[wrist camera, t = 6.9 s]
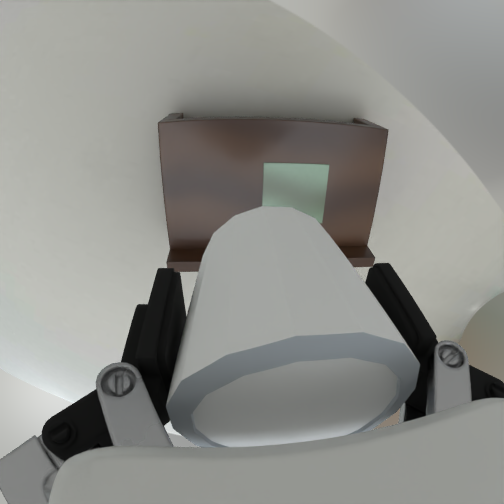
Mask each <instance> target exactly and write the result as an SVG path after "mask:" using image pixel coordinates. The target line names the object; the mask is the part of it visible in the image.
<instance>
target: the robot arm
mask: <svg viewBox="0 0 504 504" xmlns="http://www.w3.org/2000/svg"><path fill="white" fill-rule="evenodd" d="M365 284H366V285H367V286H368V288H369V289H370V291H371V292H372V293H373V295H374V296H375V298H376V299H377V300H378V302H379V303H380V305H381V306H382V308H383V309H384V311H385V312H386V313H387V315H388V316H389V318H390V319H391V321H392V322H393V324H394V325H395V327H396V328H397V330H398V331H399V333H400V334H401V336H402V337H403V339H404V340H405V342H406V343H407V345H408V346H409V348H410V349H411V351H412V352H413V354H414V355H415V357H416V359H417V360H418V362H419V363H420V368H419V373H418V378H417V383H416V388H415V390H414V391H413V392H412V393H411V395H410V396H409V397H408V398H407V400H406V401H405V402H404V403H403V405H402V406H401V407H400V415H399V422H398V424H396V425H392V426H387V427H383V428H379V429H374V430H370V431H365V432H360V433H355V434H350V435H345V436H339V437H333V438H327V439H320V440H313V441H306V442H297V443H288V444H278V445H265V446H249V447H201V448H199V447H197V448H194V447H173V444H172V442H171V440H170V438H169V436H168V434H167V432H166V430H165V428H164V425H165V424H167V423H168V422H169V421H170V418H169V415H168V412H167V409H166V404H167V399H168V394H169V390H170V385H171V381H172V377H173V372H174V368H175V363H176V359H177V355H178V351H179V347H180V342H181V338H182V334H183V330H184V326H185V322H186V318H187V317H186V311H185V304H184V297H183V290H182V283H181V276H180V272H175V270H174V268H159V269H158V270H157V274H156V277H155V281H154V284H153V288H152V291H151V295H150V299H149V302H148V304H138V305H137V307H136V309H135V313H134V316H133V320H132V323H131V327H130V330H129V334H128V337H127V341H126V345H125V348H124V352H123V356H122V360H121V362H118V363H113V364H110V365H108V366H106V367H105V368H104V369H103V370H101V372H100V373H99V375H98V376H97V380H96V390H94V391H92V392H91V393H89V394H88V395H86V396H85V397H83V398H81V399H80V400H78V401H77V402H75V403H73V404H72V405H70V406H69V407H67V408H66V409H64V410H62V411H61V412H59V413H57V414H56V415H54V416H53V417H51V418H50V419H49V420H48V421H47V422H46V423H45V425H44V426H43V430H42V435H40V436H39V437H36V436H33V437H32V438H30V439H29V440H27V441H26V442H25V443H23V444H22V445H20V446H19V447H17V448H16V449H14V450H13V451H12V452H10V453H9V454H7V455H6V456H4V457H3V458H1V459H0V490H1V491H2V494H3V495H4V497H5V499H6V501H7V502H8V504H504V383H503V382H502V381H501V380H499V379H497V378H495V377H493V376H491V375H489V374H487V373H485V372H483V371H481V370H479V369H477V368H475V367H472V366H471V365H469V364H468V357H467V354H466V352H465V350H464V349H463V348H462V347H461V346H460V345H458V344H457V343H455V342H452V341H446V340H445V341H441V342H439V343H438V341H437V340H436V335H435V333H434V332H433V330H432V328H431V326H430V325H429V323H428V322H427V320H426V318H425V317H424V315H423V313H422V312H421V310H420V309H419V307H418V305H417V304H416V302H415V301H414V299H413V298H412V296H411V295H410V293H409V291H408V290H407V288H406V287H405V285H404V284H403V282H402V281H401V279H400V278H399V276H398V275H397V273H396V272H395V271H394V269H393V268H392V266H391V265H390V264H389V263H376V264H374V265H373V267H371V268H370V269H369V272H368V275H367V279H366V282H365Z"/></svg>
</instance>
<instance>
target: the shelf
mask: <svg viewBox="0 0 504 504" xmlns="http://www.w3.org/2000/svg"><path fill="white" fill-rule="evenodd" d="M158 132H159V147H160V160H161V172H162V183H163V193H164V203H165V212H166V221H167V229H168V237H169V245H170V252H169V255H168V259H167V268H174V270H175V272H195V271H199V268H200V264H201V261H202V257H203V254H204V252H205V250H206V248H207V246H208V244H209V242H210V240H211V237H212V235H213V233H214V232H216V231H217V230H218V229H219V228H220V227H221V226H223V225H224V224H225V223H226V222H227V221H229V220H230V219H231V218H232V217H233V216H235V215H238V214H241V213H244V212H247V211H249V210H252V209H255V208H258V207H262V206H271V207H292V208H294V209H296V210H298V211H300V212H303V213H305V214H307V215H309V216H311V217H313V218H315V219H316V220H317V221H318V222H319V223H320V225H321V226H322V227H323V228H324V229H325V231H326V232H327V233H328V234H329V235H330V237H331V238H332V239H333V240H334V242H335V243H336V244H337V246H338V247H339V248H340V250H341V251H342V252H343V254H344V255H345V256H346V258H347V259H348V260H349V262H350V263H351V264H352V266H353V267H372V266H373V264H374V260H375V257H374V255H373V254H372V252H371V251H370V249H369V248H368V246H367V244H368V240H369V235H370V231H371V226H372V222H373V217H374V212H375V207H376V202H377V197H378V192H379V186H380V181H381V175H382V169H383V163H384V157H385V150H386V144H387V136H388V129H385V128H383V127H381V126H379V125H377V124H374V123H372V122H370V121H367V120H365V119H358V118H354V123H346V122H336V121H325V120H312V119H296V118H273V117H210V118H186V119H183V113H176V114H169V115H168V116H167V117H165V118H164V119H163V120H161V121H160V122H158Z"/></svg>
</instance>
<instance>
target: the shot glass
mask: <svg viewBox="0 0 504 504" xmlns="http://www.w3.org/2000/svg"><path fill="white" fill-rule="evenodd" d="M419 368H420V363H419V362H418V360H417V359H416V357H415V355H414V354H413V352H412V351H411V349H410V348H409V346H408V345H407V343H406V342H405V340H404V339H403V337H402V336H401V334H400V333H399V331H398V330H397V328H396V327H395V325H394V324H393V322H392V321H391V319H390V318H389V316H388V315H387V313H386V312H385V311H384V309H383V308H382V306H381V305H380V303H379V302H378V300H377V299H376V298H375V296H374V295H373V293H372V292H371V291H370V289H369V288H368V286H367V285H366V284H365V282H364V281H363V279H362V278H361V277H360V275H359V274H358V273H357V271H356V270H355V268H354V267H353V266H352V264H351V263H350V262H349V260H348V259H347V258H346V256H345V255H344V254H343V252H342V251H341V250H340V248H339V247H338V246H337V244H336V243H335V242H334V240H333V239H332V238H331V237H330V235H329V234H328V233H327V232H326V231H325V229H324V228H323V227H322V226H321V225H320V223H319V222H318V221H317V220H316V219H315V218H313V217H311V216H309V215H307V214H305V213H303V212H300V211H298V210H296V209H294V208H292V207H271V206H262V207H258V208H255V209H252V210H249V211H247V212H244V213H241V214H238V215H235V216H233V217H232V218H231V219H230V220H229V221H227V222H226V223H225V224H224V225H223V226H221V227H220V228H219V229H218V230H217V231H216V232H214V233H213V235H212V237H211V240H210V242H209V244H208V246H207V248H206V250H205V252H204V254H203V257H202V261H201V264H200V268H199V272H198V276H197V279H196V283H195V287H194V291H193V295H192V298H191V302H190V306H189V310H188V314H187V318H186V322H185V326H184V330H183V334H182V338H181V342H180V347H179V351H178V355H177V359H176V363H175V368H174V372H173V377H172V381H171V385H170V390H169V394H168V399H167V404H166V409H167V412H168V415H169V418H170V421H171V424H172V427H173V429H174V430H176V431H177V432H178V433H180V434H181V435H182V436H184V437H185V438H186V439H188V440H189V441H190V442H192V443H193V444H195V445H197V446H200V447H249V446H265V445H278V444H288V443H297V442H306V441H313V440H320V439H327V438H333V437H339V436H345V435H350V434H355V433H360V432H365V431H370V430H372V429H373V428H375V427H376V426H378V425H379V424H380V423H382V422H383V421H384V420H386V419H387V418H389V417H390V416H391V415H393V414H394V413H396V412H397V411H398V409H399V408H400V407H401V406H402V405H403V403H404V402H405V401H406V400H407V398H408V397H409V396H410V395H411V393H412V392H413V391H414V390H415V388H416V383H417V378H418V373H419Z"/></svg>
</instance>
